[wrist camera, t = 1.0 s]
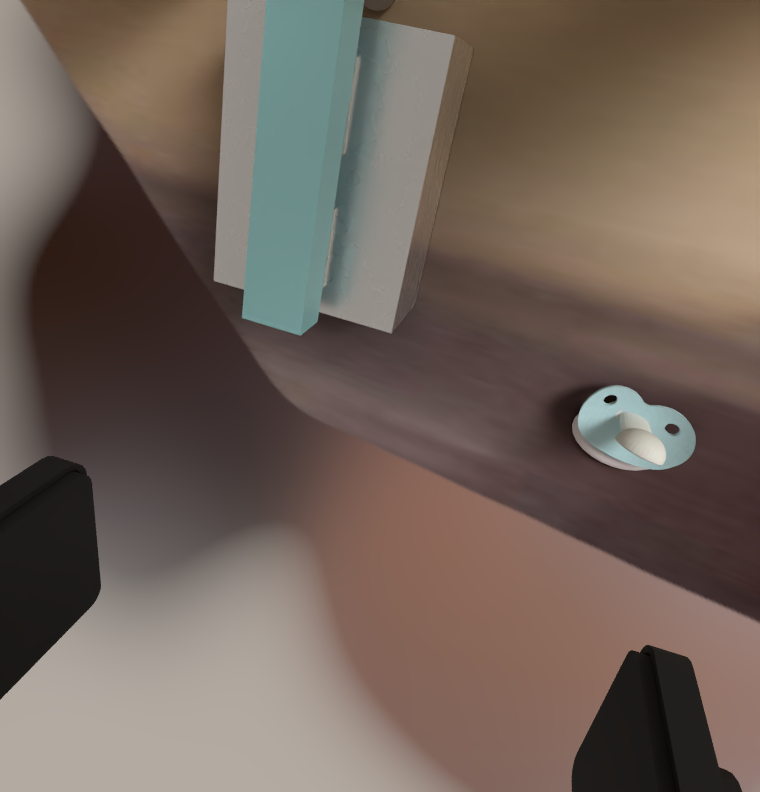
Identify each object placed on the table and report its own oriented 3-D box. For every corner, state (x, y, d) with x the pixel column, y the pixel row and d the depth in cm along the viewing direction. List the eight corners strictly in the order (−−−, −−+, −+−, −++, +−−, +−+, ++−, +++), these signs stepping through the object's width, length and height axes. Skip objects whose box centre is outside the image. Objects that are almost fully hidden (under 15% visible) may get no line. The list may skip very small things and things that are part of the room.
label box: (277, 8, 35) (221, -13, 29) (473, 47, 33) (453, 34, 27) (256, 259, 42) (208, 281, 36) (415, 305, 40) (389, 335, 34)
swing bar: (352, -47, 32) (263, -112, 23) (414, -35, 31) (347, -98, 22) (309, 276, 41) (233, 323, 32) (356, 290, 40) (292, 341, 31)
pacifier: (648, 480, 41) (702, 415, 38) (658, 538, 35) (722, 468, 32) (553, 433, 41) (598, 366, 38) (549, 484, 36) (600, 410, 33)
